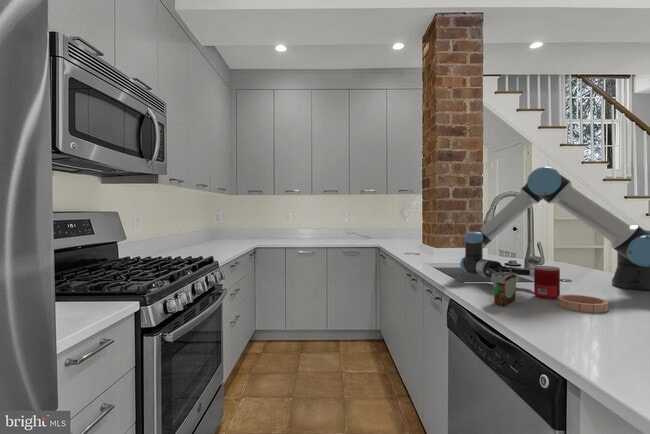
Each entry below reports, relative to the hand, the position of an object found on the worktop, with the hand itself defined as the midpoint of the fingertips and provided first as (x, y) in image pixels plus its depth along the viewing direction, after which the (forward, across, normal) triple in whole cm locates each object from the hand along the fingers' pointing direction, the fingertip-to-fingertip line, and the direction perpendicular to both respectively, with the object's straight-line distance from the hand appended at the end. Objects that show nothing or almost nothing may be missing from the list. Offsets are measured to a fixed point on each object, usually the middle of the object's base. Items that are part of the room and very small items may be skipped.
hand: (531, 276), depth 137 cm
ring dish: (+20, +1, -6) cm, 21 cm away
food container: (+6, +21, -7) cm, 23 cm away
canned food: (+6, 0, -7) cm, 9 cm away
